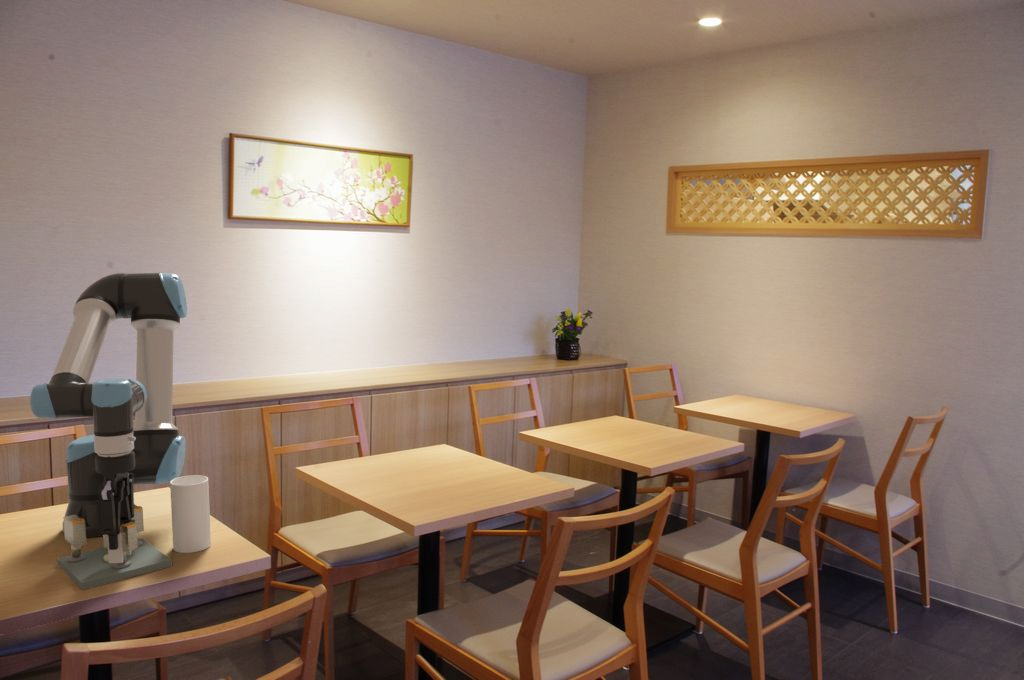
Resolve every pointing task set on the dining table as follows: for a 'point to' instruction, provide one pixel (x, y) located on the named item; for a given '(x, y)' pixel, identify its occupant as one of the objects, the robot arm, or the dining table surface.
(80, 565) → the board
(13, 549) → the dining table surface
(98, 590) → the dining table surface
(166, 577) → the dining table surface
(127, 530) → the knob
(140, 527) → the knob
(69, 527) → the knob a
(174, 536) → the cup
